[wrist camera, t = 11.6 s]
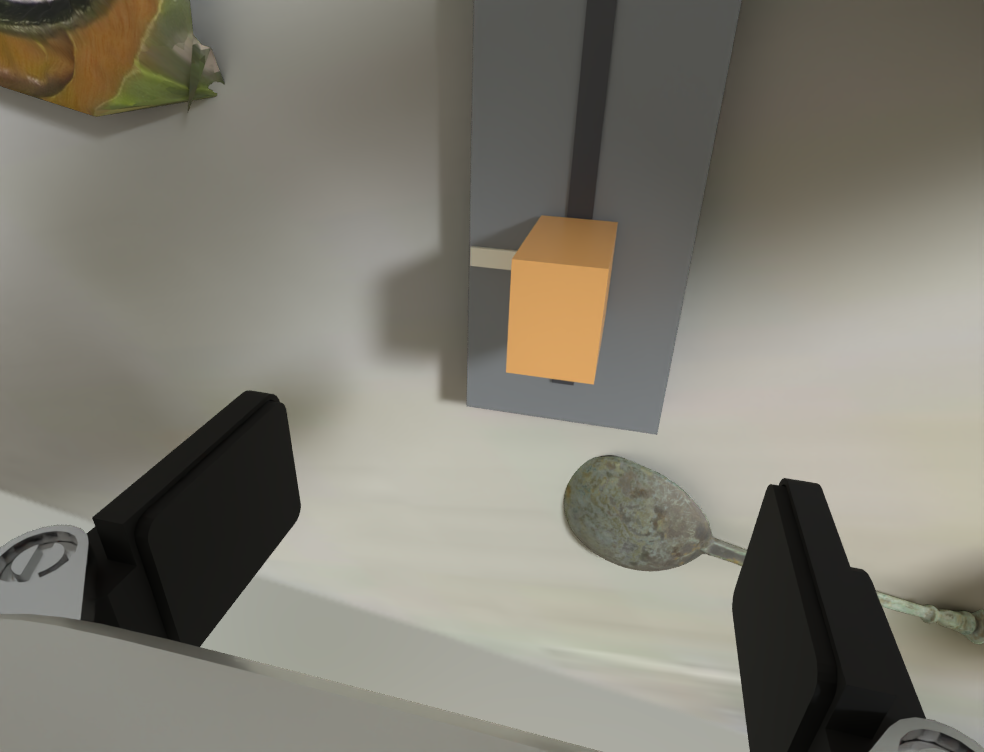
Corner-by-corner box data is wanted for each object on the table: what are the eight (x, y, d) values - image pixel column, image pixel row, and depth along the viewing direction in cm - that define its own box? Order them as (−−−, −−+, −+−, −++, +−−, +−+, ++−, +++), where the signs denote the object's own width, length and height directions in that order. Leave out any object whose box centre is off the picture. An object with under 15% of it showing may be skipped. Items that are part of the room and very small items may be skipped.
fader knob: (541, 215, 24) (511, 258, 19) (617, 222, 24) (608, 269, 18) (534, 309, 26) (506, 372, 21) (605, 317, 26) (593, 384, 20)
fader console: (492, -216, 20) (476, -243, 18) (778, -227, 19) (793, -259, 17) (476, 386, 31) (465, 408, 29) (656, 412, 30) (657, 436, 28)
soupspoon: (584, 423, 32) (551, 510, 36) (574, 461, 29) (539, 551, 33) (1017, 575, 30) (935, 652, 33) (1051, 632, 27) (958, 710, 30)
